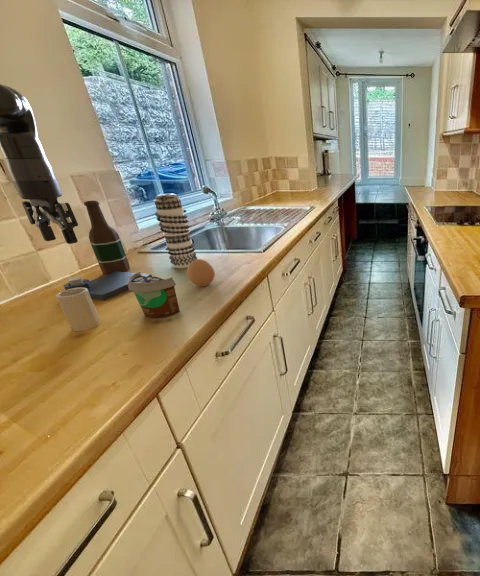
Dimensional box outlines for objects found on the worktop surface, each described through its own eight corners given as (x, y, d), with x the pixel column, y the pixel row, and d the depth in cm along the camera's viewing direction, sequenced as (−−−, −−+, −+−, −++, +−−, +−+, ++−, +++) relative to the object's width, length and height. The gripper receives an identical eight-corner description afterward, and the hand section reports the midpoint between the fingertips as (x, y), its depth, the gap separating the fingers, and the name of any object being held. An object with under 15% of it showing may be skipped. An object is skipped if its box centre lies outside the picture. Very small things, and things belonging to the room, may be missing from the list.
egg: (222, 283, 101) (216, 257, 98) (201, 291, 95) (194, 265, 91) (206, 279, 104) (200, 254, 100) (185, 287, 98) (177, 261, 94)
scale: (63, 297, 92) (58, 286, 91) (117, 276, 107) (113, 266, 105) (103, 301, 89) (99, 290, 88) (153, 279, 104) (149, 269, 103)
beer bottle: (129, 265, 116) (105, 198, 106) (131, 271, 111) (106, 201, 101) (102, 270, 112) (74, 201, 102) (103, 277, 106) (73, 204, 96)
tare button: (68, 285, 92) (65, 280, 91) (78, 282, 94) (76, 276, 94) (76, 286, 91) (73, 280, 91) (86, 282, 94) (83, 277, 93)
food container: (127, 316, 81) (113, 280, 77) (150, 305, 87) (138, 271, 83) (162, 324, 78) (150, 286, 74) (184, 312, 83) (173, 277, 79)
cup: (65, 330, 75) (49, 296, 72) (89, 319, 80) (74, 286, 77) (84, 332, 74) (68, 298, 71) (106, 321, 79) (92, 288, 76)
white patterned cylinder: (175, 261, 121) (155, 193, 110) (201, 259, 123) (184, 192, 112) (166, 269, 112) (144, 197, 102) (195, 266, 115) (176, 195, 104)
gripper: (-5, 178, 77) (26, 243, 84) (34, 180, 73) (63, 248, 80) (34, 176, 83) (60, 236, 90) (72, 177, 80) (95, 240, 86)
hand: (61, 241), depth 85 cm, fingers open, 8 cm apart
